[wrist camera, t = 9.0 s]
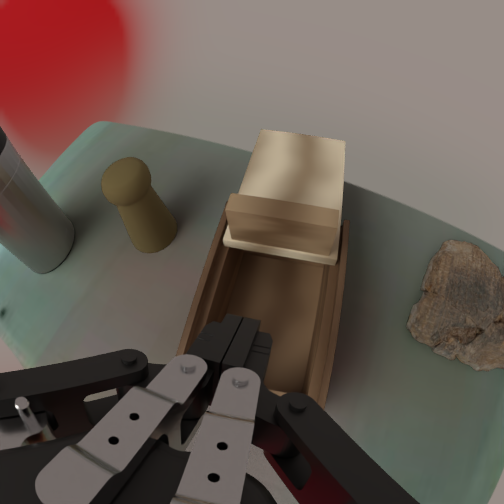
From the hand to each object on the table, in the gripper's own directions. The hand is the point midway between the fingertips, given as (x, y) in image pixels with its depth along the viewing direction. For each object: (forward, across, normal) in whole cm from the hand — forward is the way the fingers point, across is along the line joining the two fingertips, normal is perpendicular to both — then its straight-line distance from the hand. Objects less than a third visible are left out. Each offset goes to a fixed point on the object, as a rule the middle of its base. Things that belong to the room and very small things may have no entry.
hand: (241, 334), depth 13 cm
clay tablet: (+18, -26, +5) cm, 32 cm away
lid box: (+15, 0, +8) cm, 17 cm away
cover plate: (+18, 0, -5) cm, 19 cm away
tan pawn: (+21, +16, +2) cm, 26 cm away
